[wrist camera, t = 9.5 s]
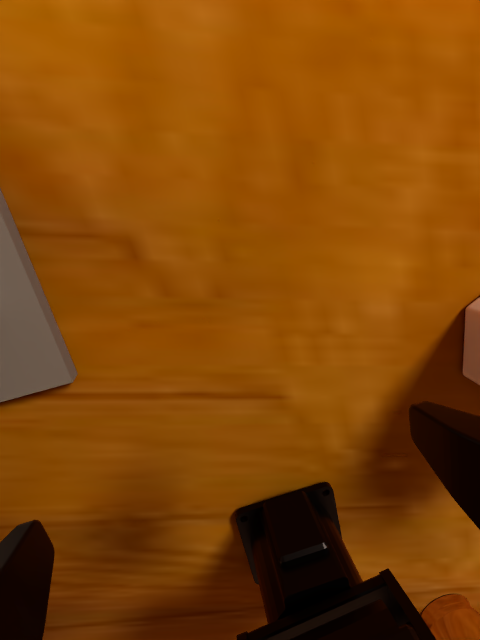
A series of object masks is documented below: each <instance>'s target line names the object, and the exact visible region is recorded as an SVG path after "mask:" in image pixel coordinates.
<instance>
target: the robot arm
mask: <svg viewBox="0 0 480 640" xmlns="http://www.w3.org/2000/svg"><path fill="white" fill-rule="evenodd" d="M409 420H410V432H411V436H412V439H413V441H414V443H415V444H416V446H417V447H418V449H419V450H420V452H421V453H422V455H423V456H424V457H425V459H426V460H427V462H428V463H429V465H430V466H431V467H432V469H433V470H434V472H435V473H436V475H437V476H438V478H439V479H440V480H441V482H442V483H443V485H444V486H445V488H446V489H447V490H448V492H449V493H450V494H451V496H452V497H453V498H454V500H455V501H456V502H457V503H458V505H459V506H460V507H461V508H462V509H463V510H464V512H465V513H466V514H467V515H468V516H469V518H470V519H471V520H472V521H473V522H474V523H475V525H476V526H477V527H478V528H479V529H480V417H479V416H476V415H473V414H469V413H466V412H462V411H459V410H455V409H452V408H449V407H445V406H442V405H438V404H435V403H431V402H428V401H423V402H419V403H416V404H413V405H411V406H410V407H409ZM324 490H326V491H324ZM323 491H324V492H323ZM242 516H245V517H242ZM235 517H236V522H237V525H238V528H239V532H240V535H241V538H242V541H243V545H244V548H245V551H246V555H247V558H248V561H249V564H250V568H251V571H252V574H253V578H254V581H255V583H256V584H259V586H260V590H261V595H262V599H263V604H264V608H265V613H266V617H267V622H268V624H267V625H265V626H262V627H260V628H258V629H256V630H253V631H251V632H249V633H248V632H247V631H246V632H244V633H241V634H239V635H237V640H436V638H435V637H434V635H433V633H432V632H431V630H430V629H429V627H428V626H427V624H426V623H425V621H424V620H423V618H422V617H421V616H420V614H419V613H418V611H417V610H416V608H415V607H414V605H413V604H412V602H411V601H410V599H409V598H408V596H407V595H406V593H405V592H404V591H403V589H402V588H401V586H400V585H399V583H398V582H397V580H396V579H395V577H394V576H393V574H392V573H391V571H390V570H389V569H386V570H383V571H381V572H379V575H377V576H375V577H373V578H370V579H368V580H366V581H364V582H363V581H362V579H361V577H360V575H359V573H358V571H357V569H356V567H355V565H354V563H353V561H352V559H351V557H350V555H349V553H348V551H347V549H346V547H345V545H344V543H343V540H342V536H341V531H340V525H339V520H338V514H337V509H336V503H335V498H334V492H333V489H332V487H331V485H330V484H329V483H327V482H322V483H319V484H316V485H313V486H310V487H307V488H303V489H300V490H297V491H294V492H291V493H288V494H285V495H281V496H278V497H275V498H272V499H269V500H266V501H263V502H259V503H256V504H253V505H250V506H247V507H244V508H241V509H239V510H238V511H237V512H236V514H235ZM53 563H54V547H53V544H52V542H51V540H50V538H49V537H48V535H47V533H46V531H45V529H44V527H43V525H42V524H41V522H40V521H38V520H33V521H29V522H26V523H23V524H20V525H18V526H17V527H15V528H14V529H13V530H12V531H11V532H10V533H9V534H8V535H7V536H6V537H5V538H4V539H3V540H2V541H1V542H0V640H42V637H43V633H44V627H45V621H46V614H47V606H48V599H49V592H50V585H51V577H52V570H53Z"/></svg>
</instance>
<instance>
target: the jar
mask: <svg viewBox="0 0 480 640" xmlns="http://www.w3.org/2000/svg"><path fill="white" fill-rule="evenodd" d="M463 375H464V376H465V377H467V378H468V379H470V380H472V381H473V382H475V383H477V384H478V385H480V297H479V298H477V299H476V300H475V301H474V302H472V303H471V304H470V305H469V306H467V307H466V310H465V331H464V352H463Z"/></svg>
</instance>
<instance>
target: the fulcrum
mask: <svg viewBox="0 0 480 640" xmlns="http://www.w3.org/2000/svg"><path fill="white" fill-rule="evenodd" d="M76 375H77V371H76V369H75V366H74V364H73V362H72V359H71V357H70V354H69V352H68V350H67V347H66V345H65V342H64V340H63V338H62V335H61V333H60V330H59V328H58V326H57V323H56V321H55V319H54V316H53V314H52V311H51V309H50V307H49V304H48V302H47V299H46V297H45V295H44V292H43V290H42V287H41V285H40V283H39V280H38V278H37V275H36V273H35V271H34V268H33V266H32V263H31V261H30V259H29V256H28V254H27V251H26V249H25V247H24V244H23V242H22V239H21V237H20V235H19V232H18V230H17V228H16V225H15V223H14V220H13V218H12V216H11V213H10V211H9V208H8V206H7V204H6V201H5V199H4V196H3V194H2V192H1V189H0V402H3V401H7V400H10V399H14V398H18V397H21V396H25V395H28V394H32V393H36V392H39V391H43V390H47V389H50V388H54V387H57V386H61V385H65V384H68V383H72V382H73V381H74V379H75V377H76Z"/></svg>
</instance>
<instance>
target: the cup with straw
mask: <svg viewBox="0 0 480 640" xmlns="http://www.w3.org/2000/svg"><path fill="white" fill-rule="evenodd" d="M421 617H422V618H423V620H424V621H425V623H426V624H427V626H428V627H429V629H430V630H431V632H432V633H433V635H434V637H435V638H436V640H480V613H479V612H478V611H476V610H475V609H474V608H472V607H471V606H470V603H469V601H468V600H467V598H465V597H464V596H462V595H458V594H450V595H446V596H443V597H440V598H438V599H436V600H435V601H433V602H432V603H430V604H429V605H428V606H427V607H426V608H425V609H424V611H423V612H422V614H421Z"/></svg>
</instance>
